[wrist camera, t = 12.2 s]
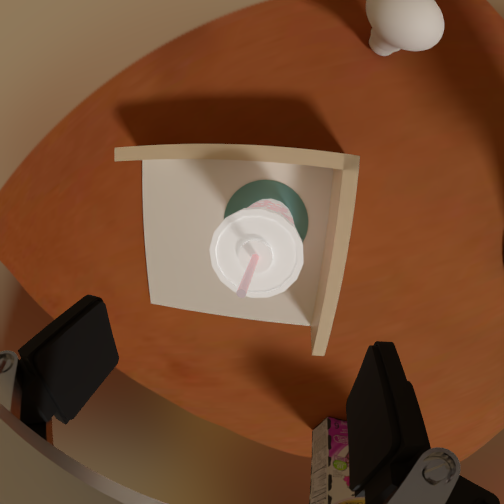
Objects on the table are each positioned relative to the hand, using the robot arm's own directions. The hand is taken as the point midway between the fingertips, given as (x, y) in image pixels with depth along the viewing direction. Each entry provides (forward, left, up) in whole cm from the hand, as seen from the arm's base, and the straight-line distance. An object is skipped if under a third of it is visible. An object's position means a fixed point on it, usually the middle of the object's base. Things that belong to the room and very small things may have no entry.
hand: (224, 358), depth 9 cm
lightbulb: (-9, -19, -20) cm, 29 cm away
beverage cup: (0, 0, -19) cm, 19 cm away
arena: (+4, +2, -19) cm, 20 cm away
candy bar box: (-15, +32, -20) cm, 41 cm away
